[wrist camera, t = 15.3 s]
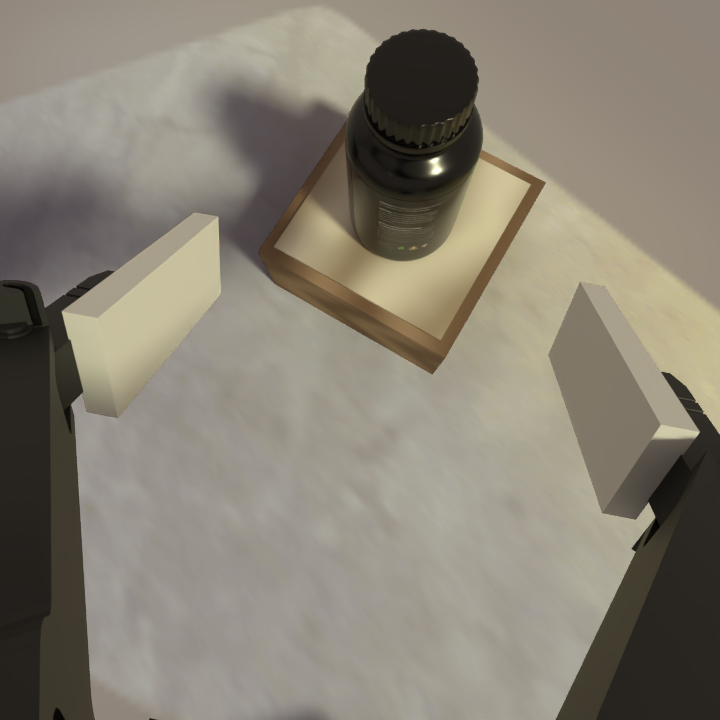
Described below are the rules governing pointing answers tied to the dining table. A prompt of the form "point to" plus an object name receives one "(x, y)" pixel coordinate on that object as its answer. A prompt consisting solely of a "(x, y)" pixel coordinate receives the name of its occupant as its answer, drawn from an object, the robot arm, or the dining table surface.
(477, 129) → the supplement bottle
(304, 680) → the dining table surface
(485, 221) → the walnut riser block
